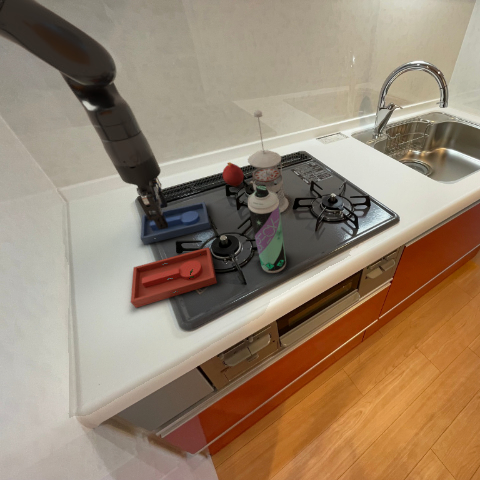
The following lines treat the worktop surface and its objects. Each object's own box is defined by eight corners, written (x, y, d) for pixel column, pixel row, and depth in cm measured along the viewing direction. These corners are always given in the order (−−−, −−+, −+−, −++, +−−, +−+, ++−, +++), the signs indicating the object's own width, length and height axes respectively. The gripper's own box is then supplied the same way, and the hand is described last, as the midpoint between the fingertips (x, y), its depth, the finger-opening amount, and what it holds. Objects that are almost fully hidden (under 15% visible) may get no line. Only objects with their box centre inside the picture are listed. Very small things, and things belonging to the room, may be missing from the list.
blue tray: (144, 244, 64) (140, 238, 63) (145, 221, 70) (142, 215, 69) (210, 228, 68) (208, 222, 67) (206, 207, 74) (204, 201, 73)
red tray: (135, 307, 52) (130, 302, 51) (137, 273, 58) (133, 267, 57) (216, 283, 56) (214, 277, 55) (211, 253, 62) (208, 247, 61)
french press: (246, 210, 74) (224, 115, 56) (266, 187, 81) (253, 98, 64) (279, 218, 71) (266, 121, 54) (296, 194, 79) (291, 103, 61)
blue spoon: (152, 234, 66) (149, 229, 65) (152, 223, 69) (150, 218, 68) (200, 223, 69) (198, 218, 68) (198, 212, 72) (197, 208, 71)
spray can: (258, 258, 61) (241, 182, 47) (281, 251, 63) (271, 176, 49) (265, 276, 58) (248, 199, 44) (289, 268, 59) (281, 192, 45)
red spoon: (144, 293, 54) (141, 289, 53) (145, 277, 57) (141, 272, 55) (203, 276, 57) (201, 271, 56) (201, 261, 60) (199, 256, 59)
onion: (236, 178, 85) (231, 155, 79) (249, 185, 82) (244, 161, 77) (222, 187, 81) (215, 163, 76) (235, 194, 79) (228, 169, 73)
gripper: (114, 143, 58) (147, 204, 70) (106, 176, 49) (146, 239, 61) (152, 138, 61) (178, 197, 72) (151, 168, 51) (181, 231, 63)
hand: (163, 217), depth 66 cm, fingers open, 8 cm apart
